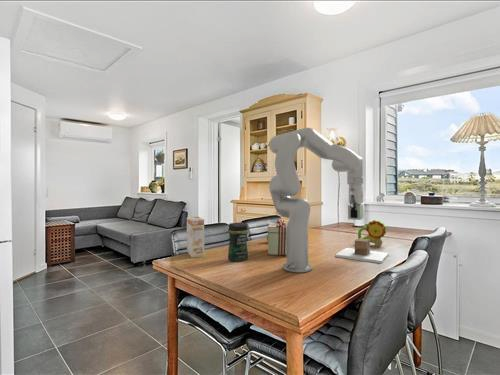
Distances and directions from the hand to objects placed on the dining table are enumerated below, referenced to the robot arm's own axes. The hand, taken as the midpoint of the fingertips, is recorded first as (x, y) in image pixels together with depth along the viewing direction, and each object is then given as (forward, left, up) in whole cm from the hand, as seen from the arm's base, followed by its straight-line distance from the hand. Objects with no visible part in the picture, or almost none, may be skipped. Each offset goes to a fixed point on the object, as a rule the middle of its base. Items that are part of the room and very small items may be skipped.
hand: (355, 216), depth 147 cm
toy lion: (+34, 0, -21) cm, 40 cm away
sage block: (0, 0, -1) cm, 1 cm away
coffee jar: (-37, +47, -21) cm, 64 cm away
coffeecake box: (-41, +73, -21) cm, 87 cm away
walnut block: (+4, -2, -19) cm, 20 cm away
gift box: (-10, +36, -21) cm, 43 cm away
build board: (+4, -2, -21) cm, 21 cm away
